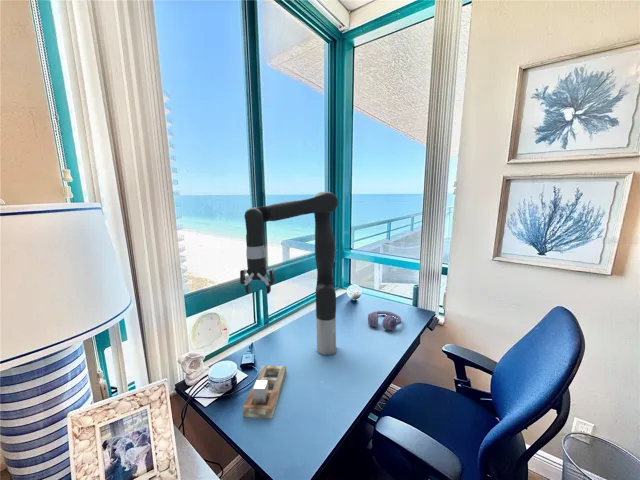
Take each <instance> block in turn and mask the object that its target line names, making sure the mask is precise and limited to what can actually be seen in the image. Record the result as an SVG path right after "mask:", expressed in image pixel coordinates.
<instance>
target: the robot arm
mask: <svg viewBox="0 0 640 480" xmlns="http://www.w3.org/2000/svg"><path fill="white" fill-rule="evenodd" d="M338 200H339V199H338V197H337V196H336V195H335V194H334V193H333V192H330V191H320V192H318V193H317V194H315V195H314V196H312V197H309V198H306V199H300V200H290V201H282V202H278V203H273V204H268V205H266V206H265V205H264V206H257V207H250V208H248V209H246V211H245V212H244V221H245V222H244V223H245V230H246V234H245V235H246V236H245V241H246V242H245V243H246V256H245V257H246V265H247V266H246V267H247V269H245V268H242V269H241V270H240V271H239V278H240V279H239V281H240V284H241V285H244V286H245V287H244V289H245V293H246V294H248V295H249V294H250V293H251V283H250V282H251V281H262V282H263V283H265V287H266V288H265V289H266V290H265V291H266V294H267V295H269V294H270V293H271V291H272V289H271V288H272V285H274V284H275V279H276V278H275V271H274V268H271V269H267V265H266V264H267V263H266V249H265V242H264V241H265V238H264V223H267V222H277V221H282V220H287V219H290V218H295V217H299V216H304V215H309V214H313V215H314V256H315V265H316V272H317V274H316V286H315V287H316V288H315V316H316V317H315V321H316V322H315V323H316V325H315V327H316V328H315V329H316V352H318V353H319V354H320V355H323V356H324V355H325V356H329V355H333V354H336V353H337V326H336V325H337V321H336V320H337V319H336V316H337V315H336V313H337V294H336V289H335V285H334V275H333V273H334V272H333V270H334V264H335V259H336V257H335V256H336V242H335V240H336V239H335V235H334V232H333V229H332V225H331V213H332V212H334V211H335V210H336V209H337V208H338V205H339V201H338ZM246 274H247V275H248V278H247V279H246ZM267 274H268V275H267ZM268 277H269V278H268Z"/></svg>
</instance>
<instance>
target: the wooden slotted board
mask: <svg viewBox="0 0 640 480" xmlns="http://www.w3.org/2000/svg"><path fill="white" fill-rule="evenodd" d="M268 375H269V376H270V375H271V376H276V377H267V376H268ZM286 375H287V366H286V365H269V364H268V365H265V364H263V365H262V366H261V368H260V371H259V372H258V375H257V378H256V380H255V382H254V384H253V386H252V388H251V390H250V392H249V394H248V396H247V398H246V401H245V402H244V405H243V407H242V417H244V418H257V419H258V418H259V419H260V418H262V419H273V416H274V414H275V411H276V407H277V404H278V401H279V398H280V395H281V391H282V388H283V385H284V382H285V378H286ZM257 380H267V381H268V388H272V390H271V389H268V394H269V400H268V403H267V406H264V405H254V394H253V388H254V385H255V383H256V381H257Z"/></svg>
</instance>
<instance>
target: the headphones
mask: <svg viewBox="0 0 640 480" xmlns="http://www.w3.org/2000/svg"><path fill="white" fill-rule="evenodd" d="M378 314H386V315H387V316H383V319H382V324H381V326H382V327H383V329H384V330H385V329H386V330H385V331H388V330H391V332H392V331H394V330H395V329H396V328H397V326H399V325H400V324H402V317H401V316H399V315H398V314H397V313H395V312H391V311H386V310H377V311H372V312H371V313H368V315H367V324H368V326H370V327H372V328H378V325H379V315H378ZM392 316H394V317H396V318H398V319H399V320H398V319H395V318H394V317H392Z"/></svg>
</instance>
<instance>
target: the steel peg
mask: <svg viewBox="0 0 640 480" xmlns="http://www.w3.org/2000/svg"><path fill="white" fill-rule="evenodd" d="M255 382H256V383H255ZM255 382H254V384H255V385H254V384H253V386H254V388H253V387H252V388H253V394H254V405H264V406H267V403H268V400H269V394H268V390H269V387H268V381H267V380H257V381H256V380H255Z"/></svg>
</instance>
